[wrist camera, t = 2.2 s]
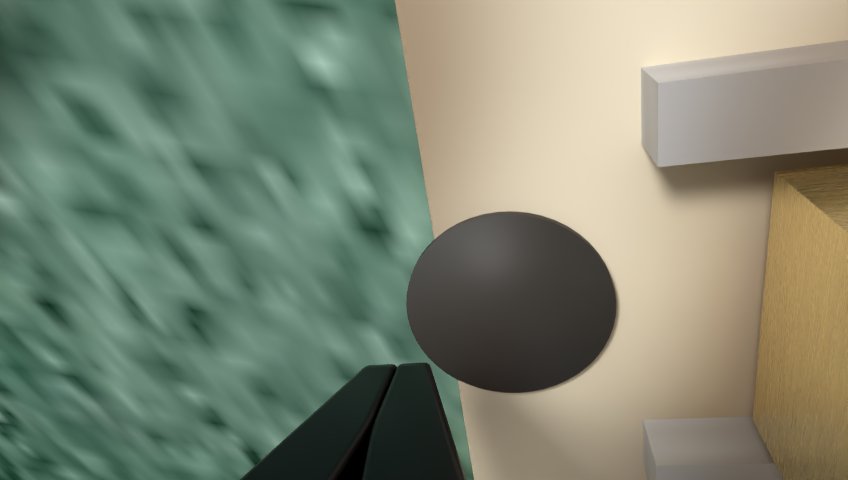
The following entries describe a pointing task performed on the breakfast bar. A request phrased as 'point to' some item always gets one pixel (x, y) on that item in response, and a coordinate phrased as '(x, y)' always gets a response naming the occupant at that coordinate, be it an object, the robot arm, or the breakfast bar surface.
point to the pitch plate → (611, 220)
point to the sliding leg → (806, 326)
